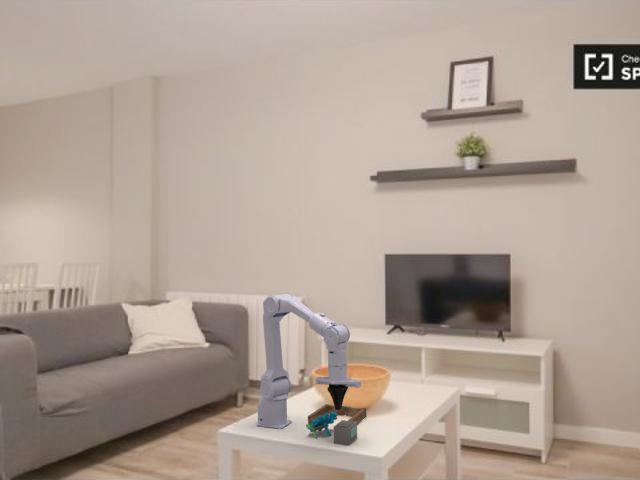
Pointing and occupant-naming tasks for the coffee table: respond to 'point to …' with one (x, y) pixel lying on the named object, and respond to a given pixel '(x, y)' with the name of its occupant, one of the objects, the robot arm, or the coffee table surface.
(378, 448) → the coffee table surface
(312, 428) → the blue green toy construction
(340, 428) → the block
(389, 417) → the coffee table surface
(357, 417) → the frame
